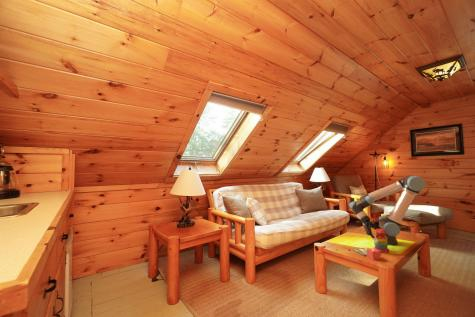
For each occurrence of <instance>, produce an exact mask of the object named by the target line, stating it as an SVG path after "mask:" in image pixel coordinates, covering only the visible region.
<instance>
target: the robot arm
mask: <svg viewBox="0 0 475 317" xmlns="http://www.w3.org/2000/svg"><path fill="white" fill-rule="evenodd" d="M426 186H427V185H426V181H425V180H424V179H423V178H422V177H421V176H418V175H413V174H412V175H407V176H405V177H401V178H400V179H398V180H396V182H394V183H391V184H389V185H387V186H384V187H381V188H379V189H377V190H374V191H372V192H370V193H368V194H363V195H361V196H360V197H359V201H356V200H353V201H352V202H350V203H349V205H348V206H349V208H350V210H352V212H353V214H355V215H356V217H357V218H358V220H360V222H361V223H362V226H363V228H364V231H365V232H366V235H367V236H370V237H371V239H372V240H373V242H374V241H375V242H378V241H379V240H378V239H377V238H376V237H375V236H376V235H375V234H374V233H373V231H372V229H374V230H375V231H376V229H384V230H385V233H386V234H385V237H386V238H387V241H388V246H396V245H399V244H398V239H397V236H398V235H399V234H400V233H401V227H402V225H403V223H402V220H403V218H404V216H406V213H407V211H408V209H409V208H410V206H411V204H412V203H413V200H414V199H415V197H416V196H419V195H420V193H421V191H423V190H424V189H425V188H426ZM401 191H402V192H401ZM398 192H401V194H400V196H399V198H398V199H397V201H396V203H395V205H394V207H393V208H392V211H391V213H390V214H389V215H387V216H384V215H383V216H382V215H381V216H378V224H376V223H375V221H374V220H372V221H371V218H370V216H369V215H368V214H367V213H366V212H365V210H364V209H366V208H368V207H369V206H371V205H373V204H374V203H375V201H377V200H380V199H382V198H384V197H387V196H390V195H393V194H395V193H398Z"/></svg>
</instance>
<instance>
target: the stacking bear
mask: <svg viewBox="0 0 475 317" xmlns="http://www.w3.org/2000/svg"><path fill="white" fill-rule="evenodd" d="M375 234H376V235H375V237H376V238H377V239H378V240H379V241H378V242H375V241H374V240H373V242H374V249H376V250H379V251H380V254H387V253H390V252H391V249H390V248H388V246H389V245H388V241H387V238H386V237H385V234H386V233H385V230H384V229H376V230H375Z"/></svg>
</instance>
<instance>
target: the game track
mask: <svg viewBox="0 0 475 317" xmlns="http://www.w3.org/2000/svg"><path fill="white" fill-rule="evenodd" d="M370 248H371V247H363V248H362V247H361V248H360V247H359V248H351V249H352V251H353V252H355V253H356V254H359V255H361V256H363V257H367V249H370ZM381 255H382V253H380V256H381Z"/></svg>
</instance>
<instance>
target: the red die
mask: <svg viewBox="0 0 475 317" xmlns="http://www.w3.org/2000/svg"><path fill="white" fill-rule="evenodd" d="M369 248H370V249H367V256H366V257H367V258H369V259H371V260H373V261H377V260H381V255H380V254H381V253H380V251H379V250H376V249H374V248H373V247H372V248H371V247H369Z"/></svg>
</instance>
